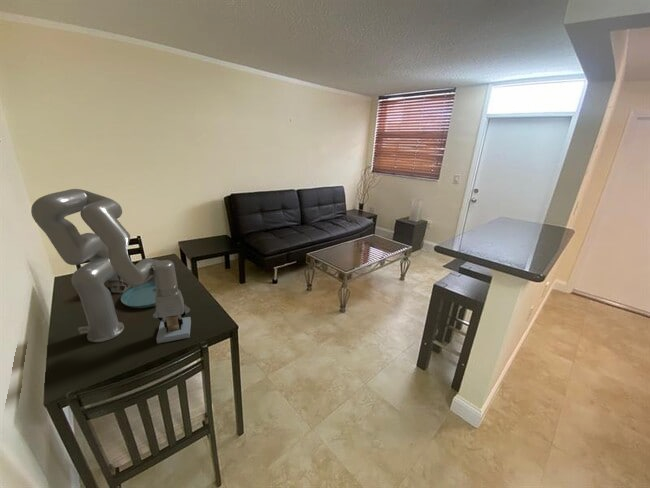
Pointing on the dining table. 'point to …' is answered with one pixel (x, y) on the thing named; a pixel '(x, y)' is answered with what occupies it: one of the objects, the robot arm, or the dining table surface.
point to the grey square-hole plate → (174, 332)
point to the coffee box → (118, 284)
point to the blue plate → (140, 296)
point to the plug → (172, 323)
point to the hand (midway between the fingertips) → (174, 326)
